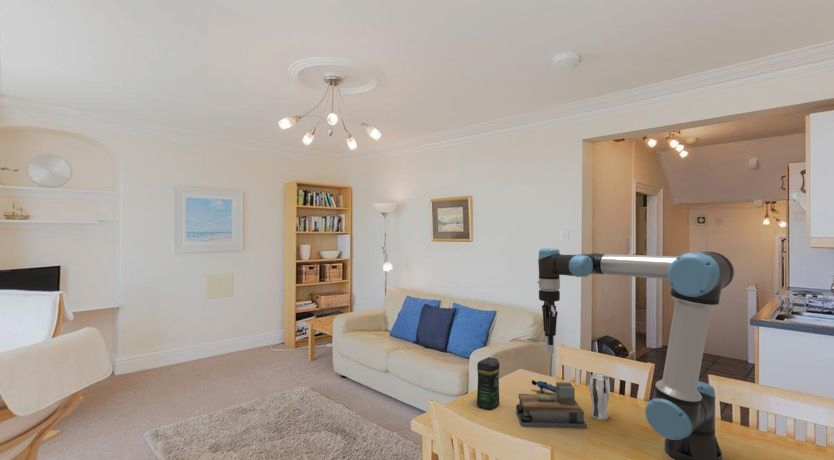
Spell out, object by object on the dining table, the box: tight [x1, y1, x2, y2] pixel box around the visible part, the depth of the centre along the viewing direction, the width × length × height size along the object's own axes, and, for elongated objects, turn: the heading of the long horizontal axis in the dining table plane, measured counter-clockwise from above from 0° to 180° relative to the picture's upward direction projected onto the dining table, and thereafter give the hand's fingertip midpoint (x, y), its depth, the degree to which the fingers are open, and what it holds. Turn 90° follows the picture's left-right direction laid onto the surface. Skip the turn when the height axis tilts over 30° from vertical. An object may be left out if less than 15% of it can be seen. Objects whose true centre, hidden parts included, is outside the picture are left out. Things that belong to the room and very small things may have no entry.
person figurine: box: [531, 379, 556, 394], centre depth 180 cm, size 11×4×18 cm
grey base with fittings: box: [515, 401, 588, 429], centre depth 156 cm, size 12×23×5 cm, turn 86°
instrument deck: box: [518, 381, 582, 413], centre depth 156 cm, size 12×20×8 cm, turn 86°
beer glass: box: [589, 373, 611, 421], centre depth 159 cm, size 7×7×15 cm
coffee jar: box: [476, 356, 500, 410], centre depth 170 cm, size 10×8×19 cm
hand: (549, 352), depth 157 cm, fingers closed
